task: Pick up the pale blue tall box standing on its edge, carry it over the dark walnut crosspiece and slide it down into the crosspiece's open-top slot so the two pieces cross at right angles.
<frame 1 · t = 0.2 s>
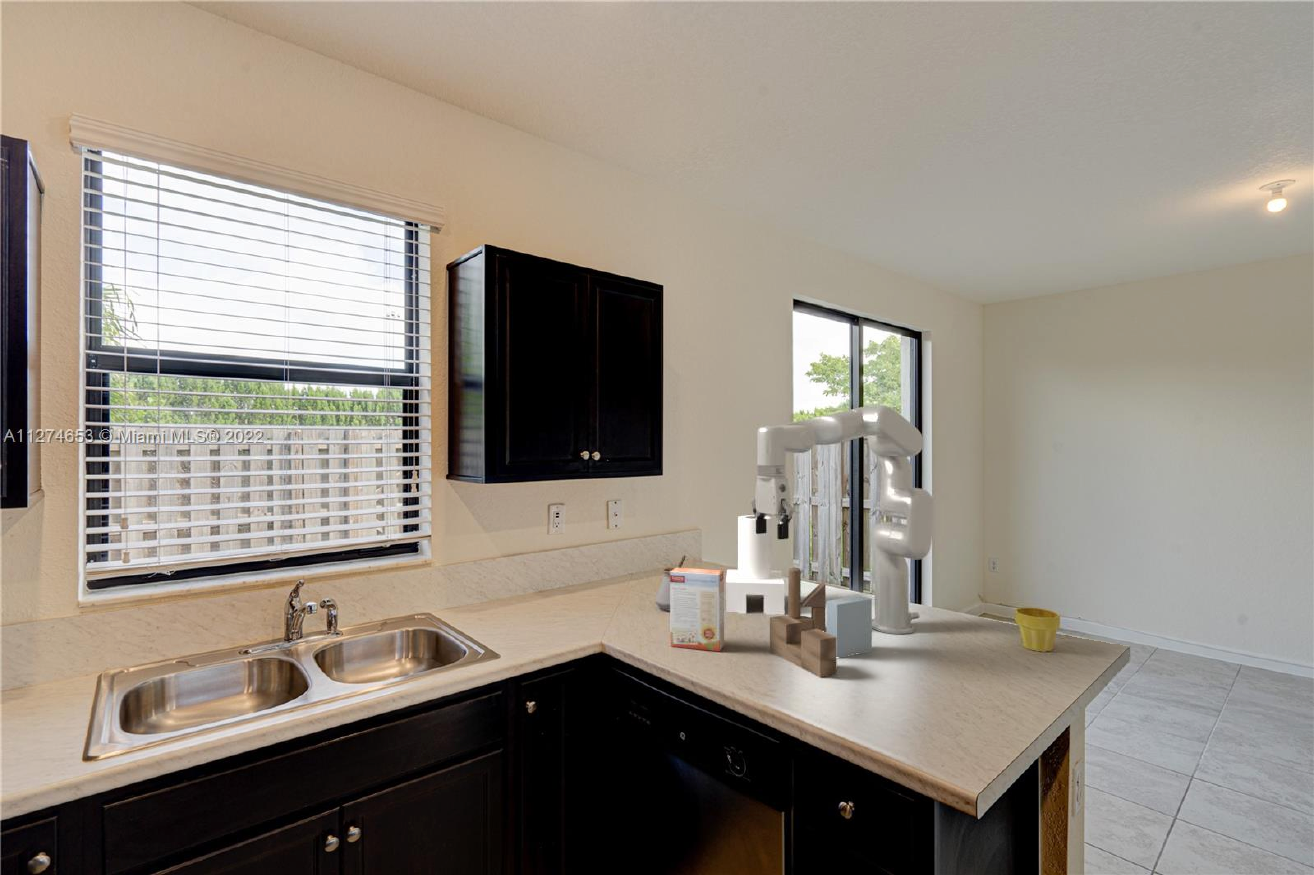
hand: (771, 536, 164), 31 cm above the worktop, tool pointing down, fingers open, 9 cm apart
cracker box: (697, 646, 169), on the worktop
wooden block: (806, 630, 183), on the worktop
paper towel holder: (754, 606, 208), on the worktop
walnut crosspiece: (801, 662, 157), on the worktop
pale blue tall box: (849, 652, 164), on the worktop
plant pot: (1037, 648, 167), on the worktop
coffee pot: (676, 605, 210), on the worktop
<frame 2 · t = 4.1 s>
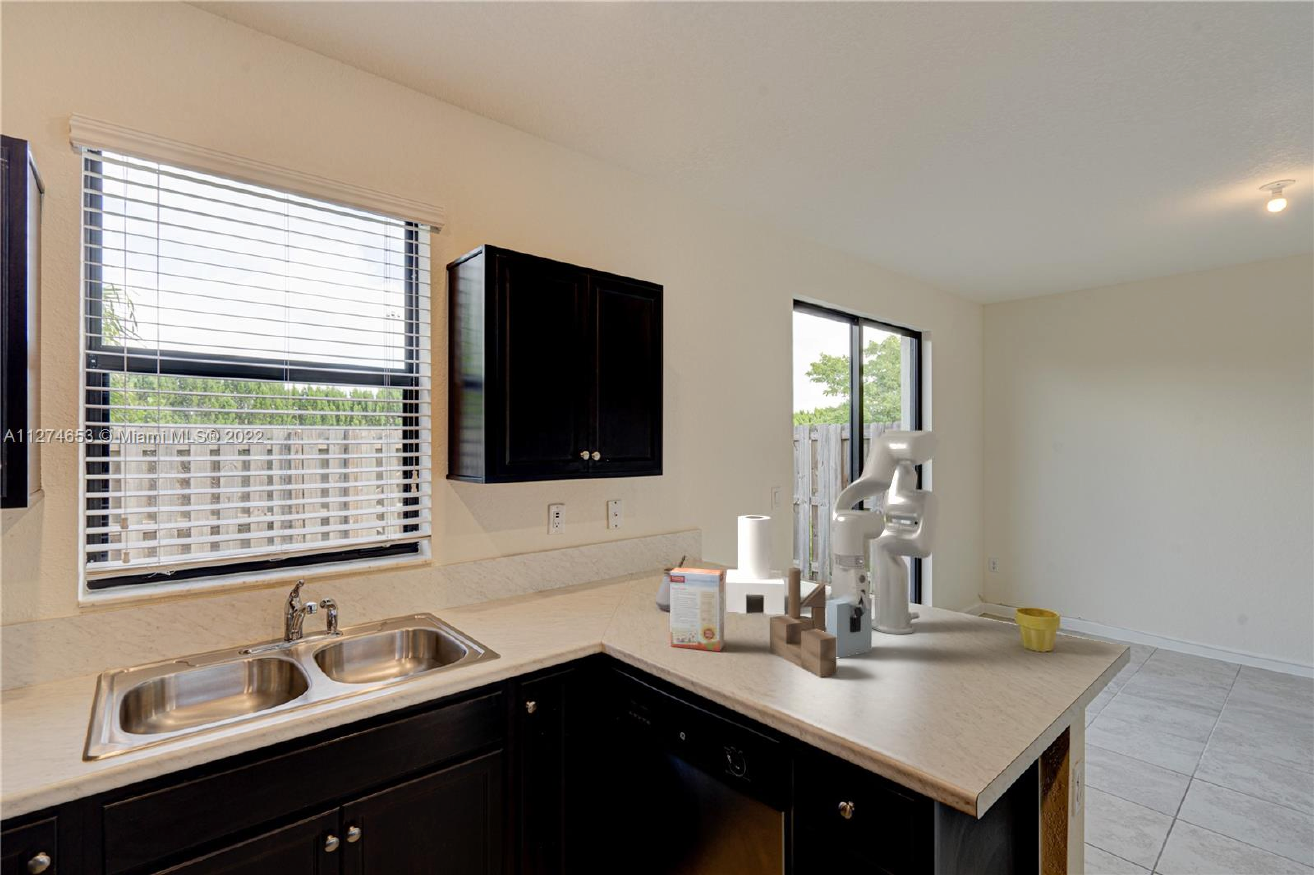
hand: (849, 628, 164), 6 cm above the worktop, tool pointing down, fingers closed on pale blue tall box, 4 cm apart
pale blue tall box: (849, 652, 164), on the worktop, touching gripper
everything else where it was.
when the fingers open (12 cm above the worktop, at t = 10.3 s): pale blue tall box drops 1 cm, resting on walnut crosspiece.
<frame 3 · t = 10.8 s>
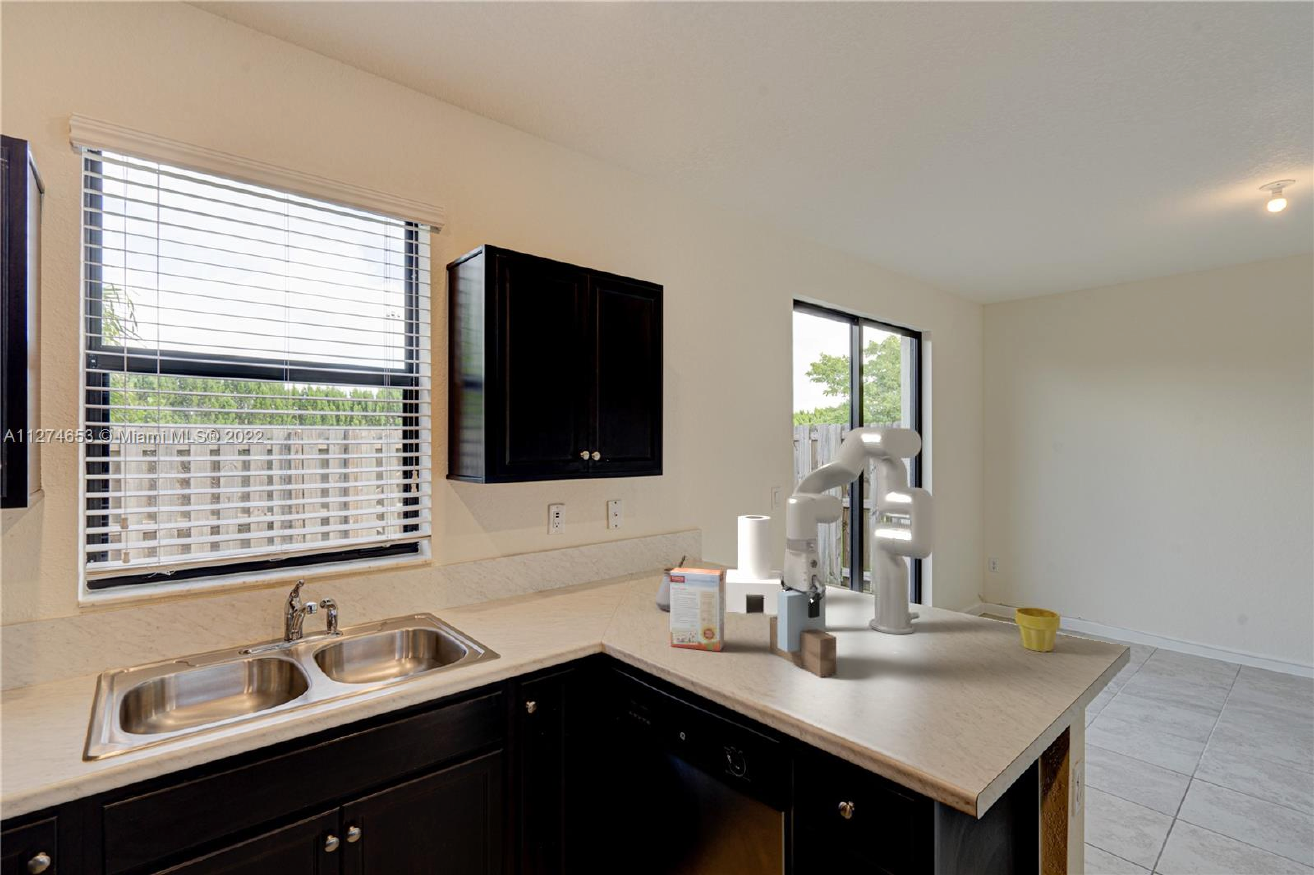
hand: (801, 612, 157), 13 cm above the worktop, tool pointing down, fingers open, 9 cm apart
pale blue tall box: (801, 646, 157), point 4 cm above the worktop, touching walnut crosspiece
everything else where it was.
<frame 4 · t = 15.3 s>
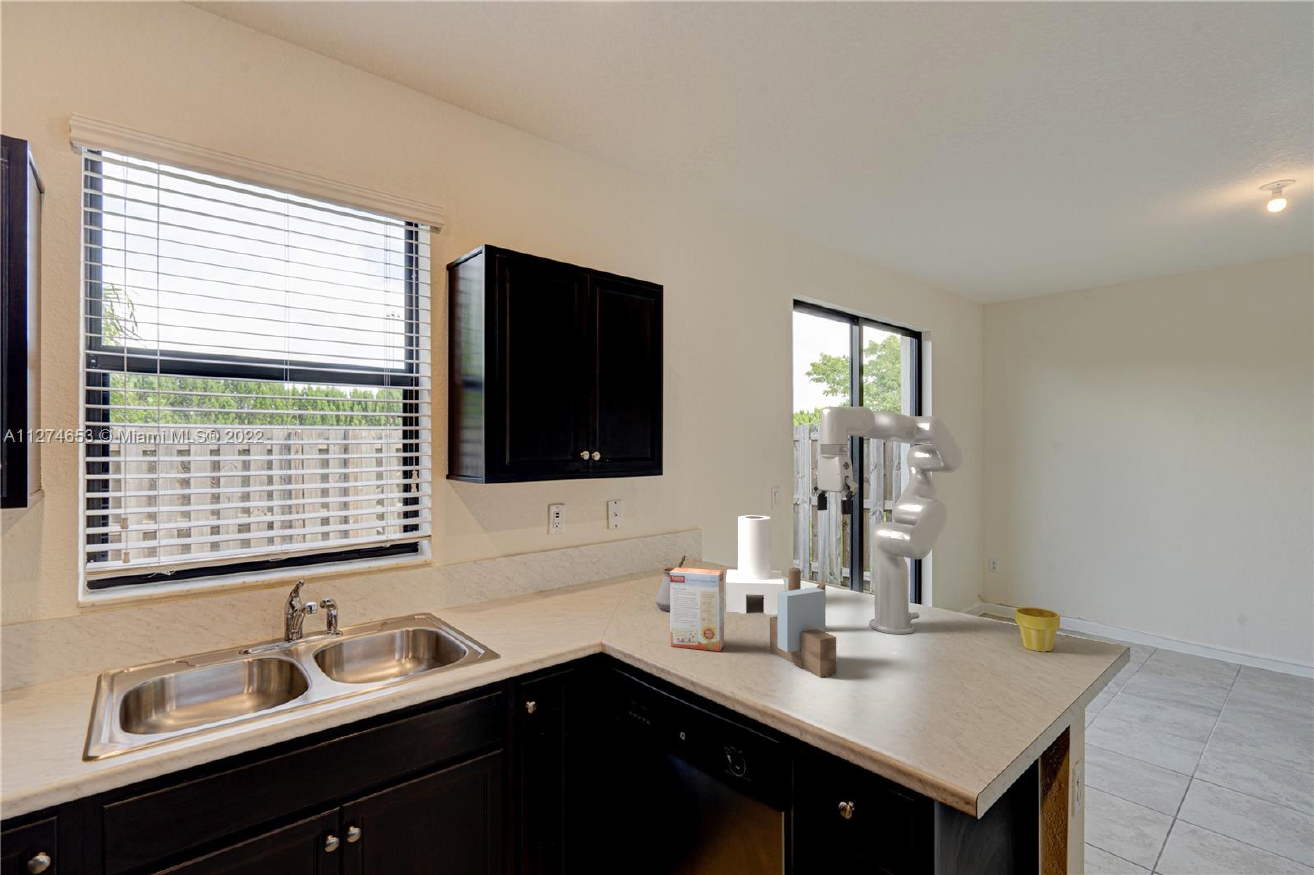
hand: (834, 512, 172), 36 cm above the worktop, tool pointing down, fingers open, 9 cm apart
nothing on the worktop moved.
at the end: pale blue tall box 0.1 cm off-centre on the walnut crosspiece, point 4.0 cm above the walnut crosspiece's base; pale blue tall box tilted 0°; the gripper is holding nothing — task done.
